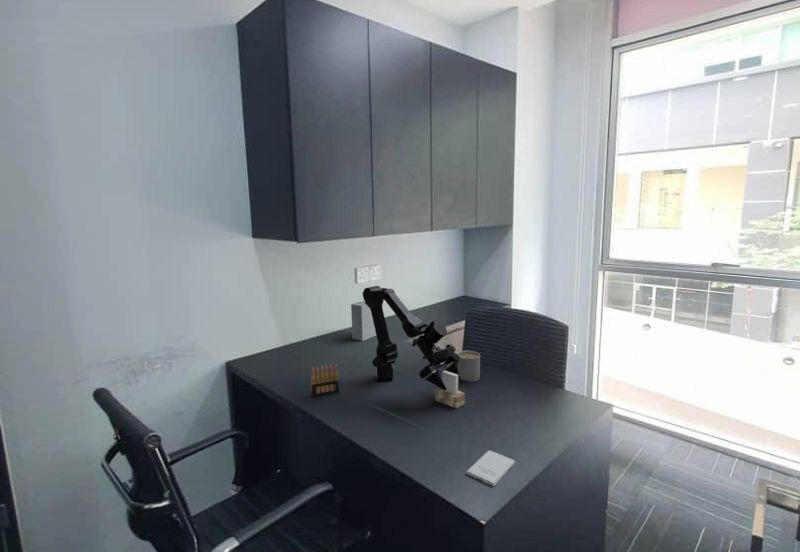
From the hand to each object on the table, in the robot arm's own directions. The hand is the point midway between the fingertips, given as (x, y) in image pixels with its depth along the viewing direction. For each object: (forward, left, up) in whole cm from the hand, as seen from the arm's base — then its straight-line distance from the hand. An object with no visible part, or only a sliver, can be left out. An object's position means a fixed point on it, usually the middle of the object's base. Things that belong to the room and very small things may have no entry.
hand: (453, 385), depth 147 cm
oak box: (-1, +1, -7) cm, 7 cm away
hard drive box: (-26, +86, -7) cm, 90 cm away
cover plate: (-1, +1, -7) cm, 7 cm away
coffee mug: (+13, +25, -7) cm, 29 cm away
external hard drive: (0, -38, -8) cm, 39 cm away
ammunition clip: (-46, +16, -7) cm, 50 cm away
